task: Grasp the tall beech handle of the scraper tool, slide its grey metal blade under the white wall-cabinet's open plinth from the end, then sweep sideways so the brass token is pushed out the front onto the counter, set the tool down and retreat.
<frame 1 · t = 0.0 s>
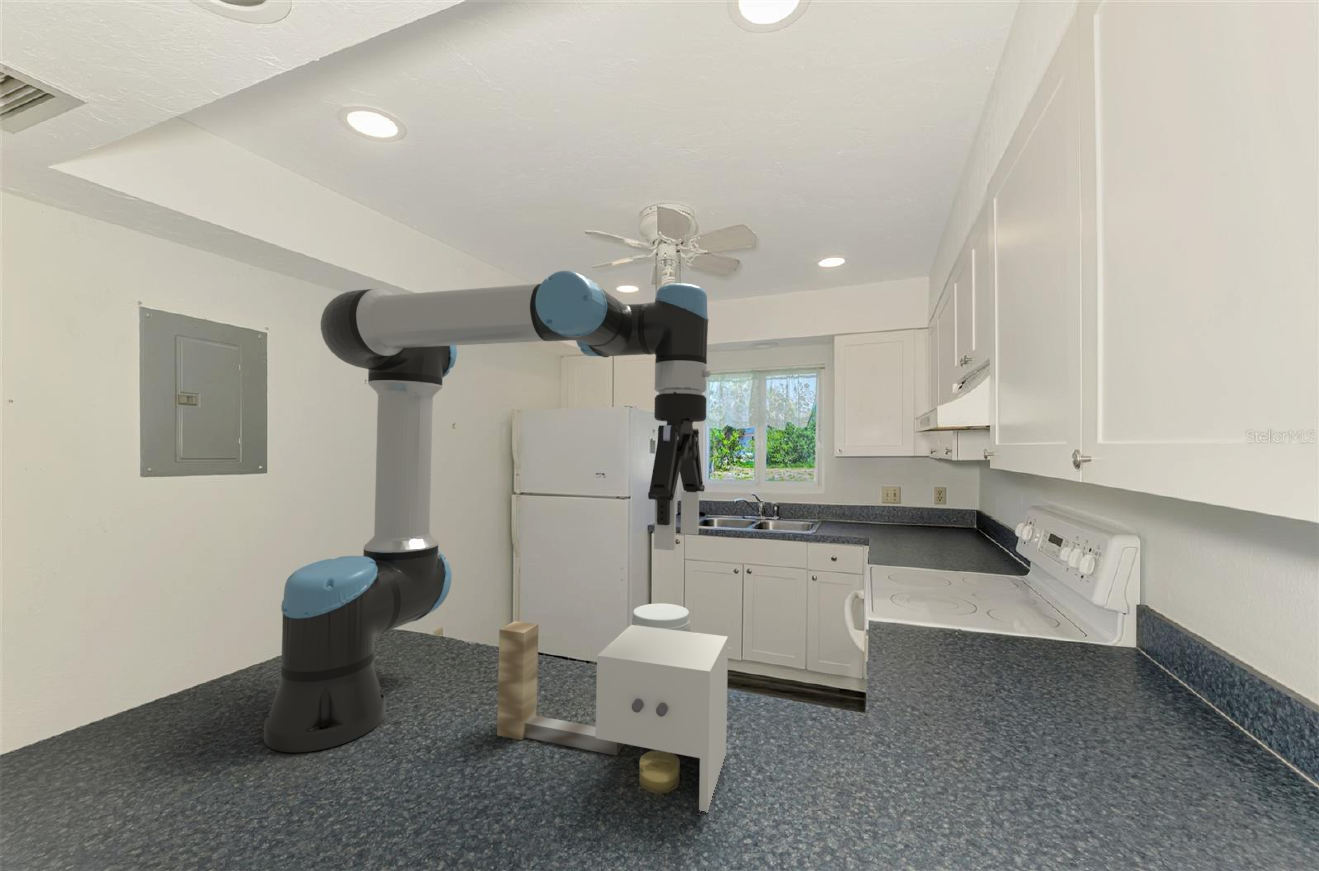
hand: (678, 541, 78), 28 cm above the countertop, fingers open, 13 cm apart
token: (659, 781, 67), on the countertop
scraper tool: (517, 730, 79), on the countertop
cabinet: (663, 770, 69), on the countertop
supplement tub: (660, 702, 88), on the countertop
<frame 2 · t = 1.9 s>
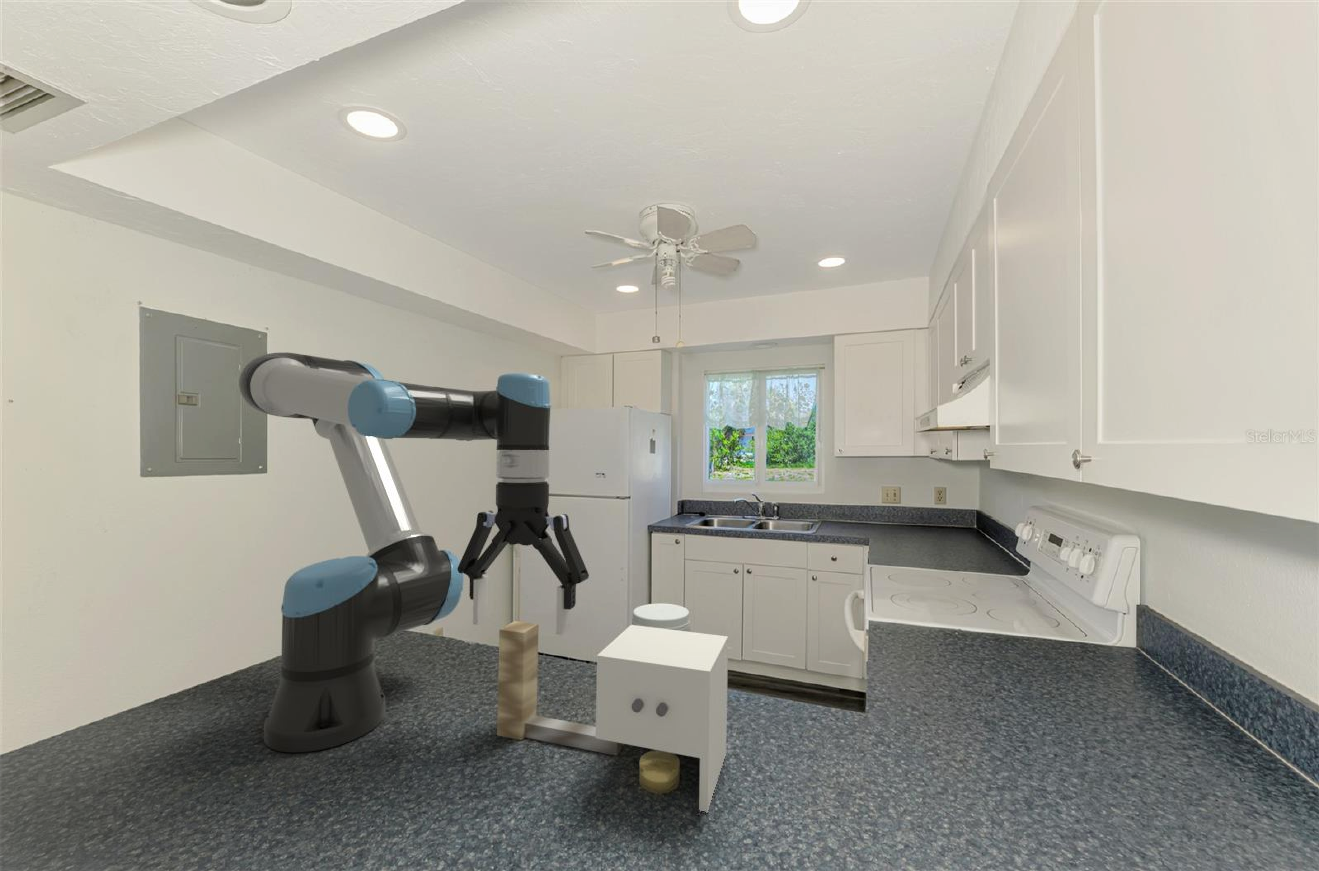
hand: (520, 626, 79), 15 cm above the countertop, fingers open, 13 cm apart
nothing on the countertop moved.
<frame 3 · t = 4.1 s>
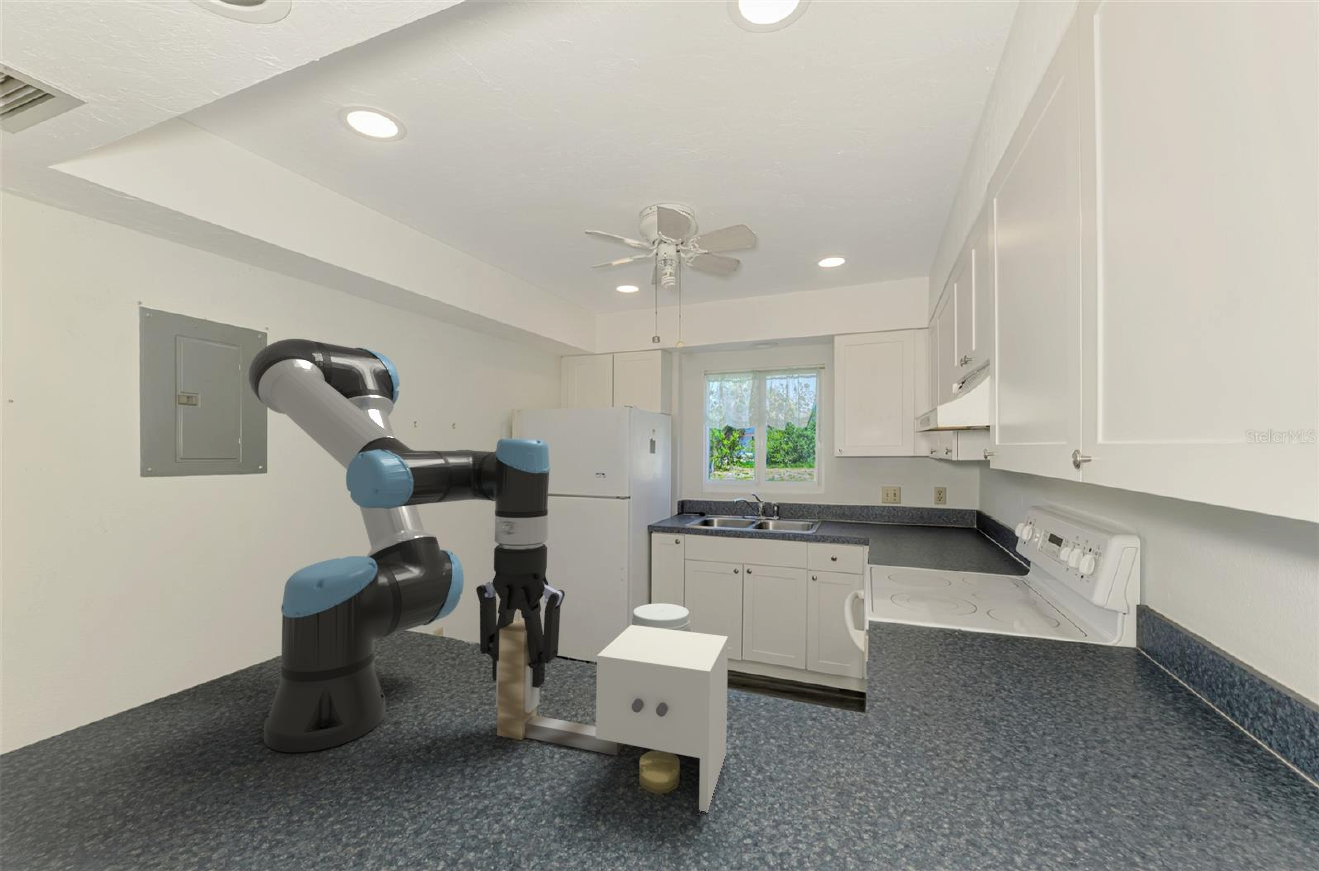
hand: (517, 705, 79), 4 cm above the countertop, fingers closed on scraper tool, 4 cm apart
scraper tool: (517, 730, 79), on the countertop, touching gripper
everything else where it was.
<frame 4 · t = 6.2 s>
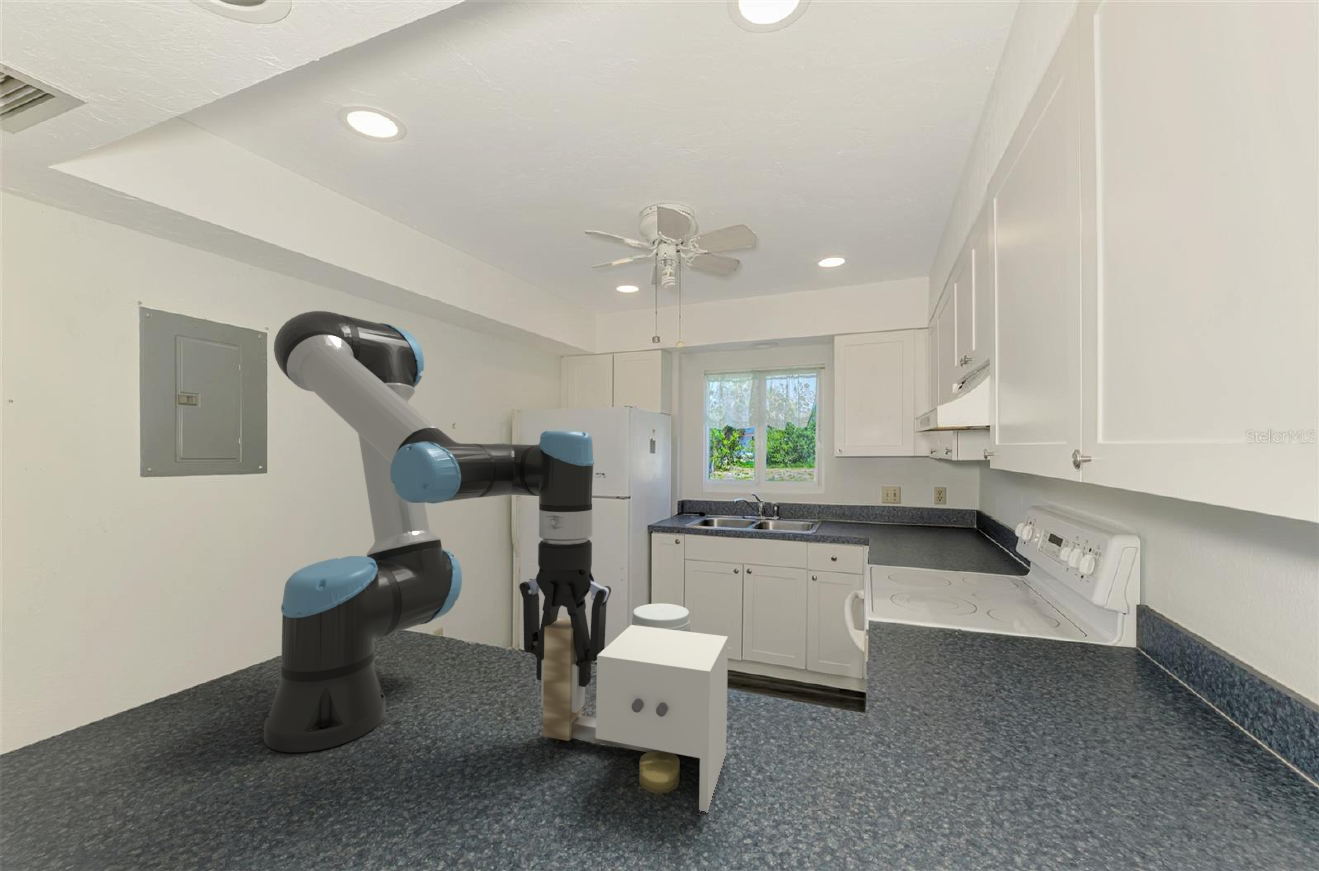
hand: (563, 704, 76), 5 cm above the countertop, fingers closed on scraper tool, 4 cm apart
scraper tool: (562, 731, 76), point 1 cm above the countertop, touching gripper
everything else where it was.
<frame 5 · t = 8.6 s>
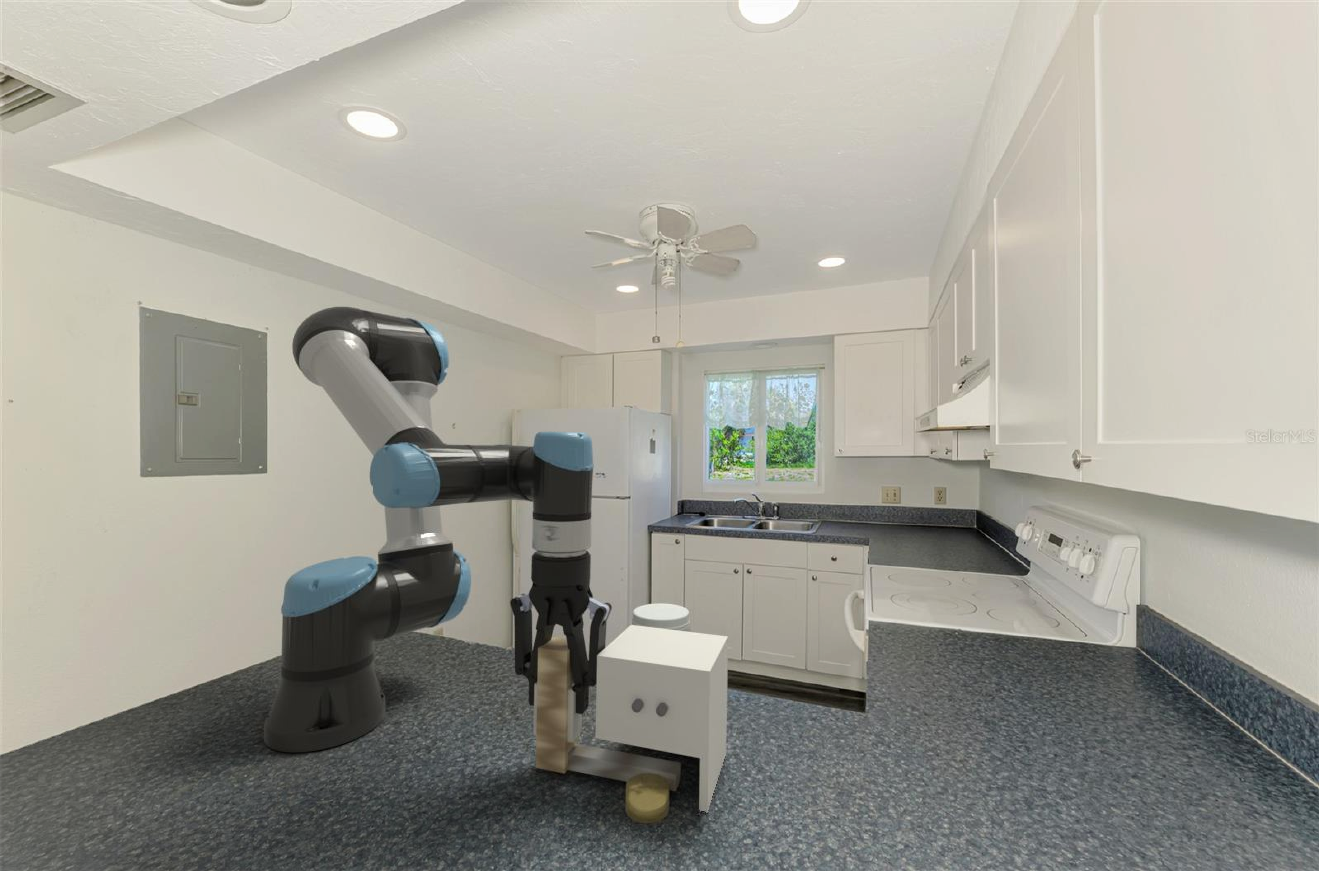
hand: (557, 732, 69), 5 cm above the countertop, fingers closed on scraper tool, 4 cm apart
token: (647, 808, 62), on the countertop
scraper tool: (557, 761, 69), point 1 cm above the countertop, touching gripper
everything else where it was.
when the fingers open (5 cm above the countertop, at t = 11.8 s): scraper tool stays where it is, on the countertop.
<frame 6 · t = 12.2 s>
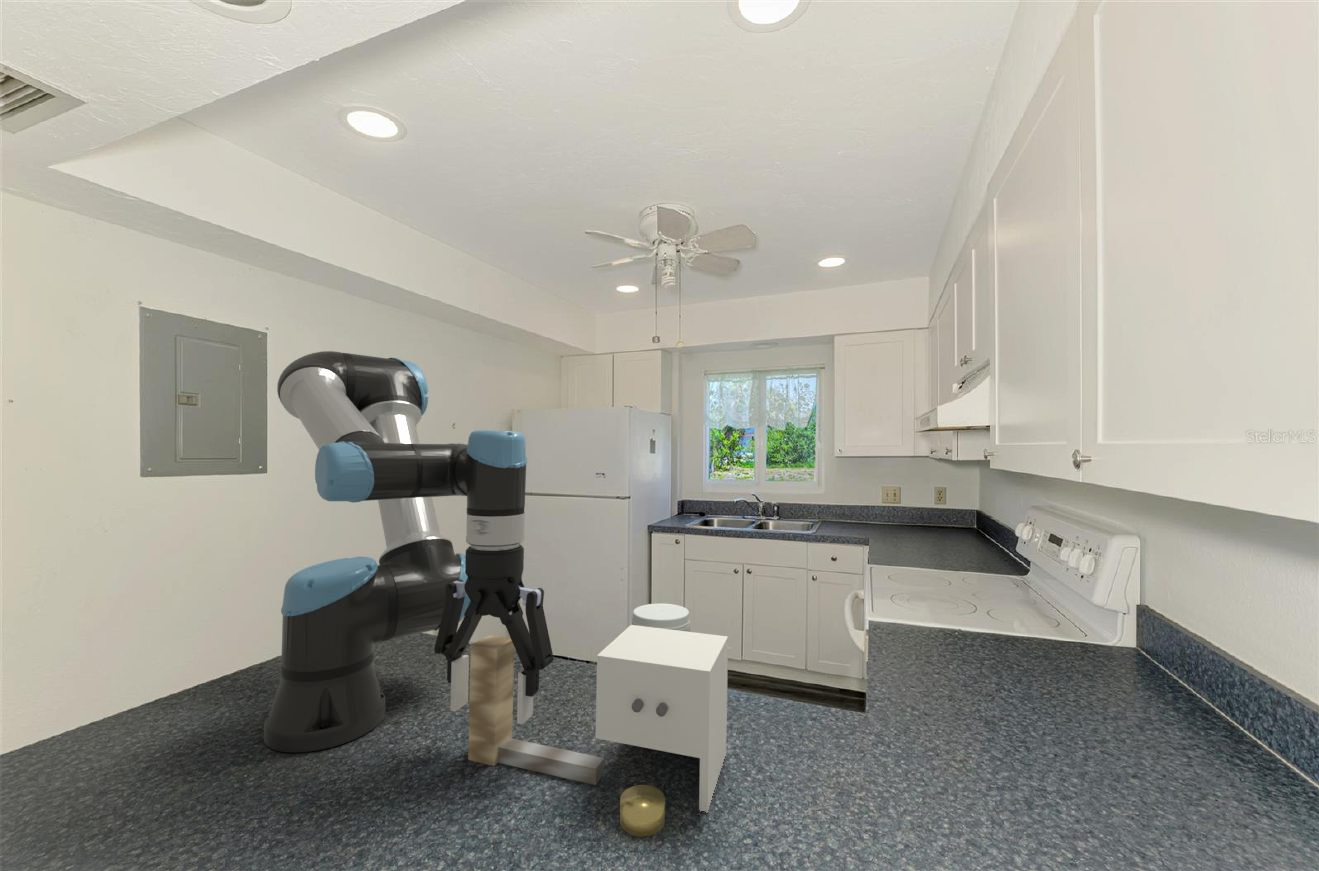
hand: (491, 712, 72), 6 cm above the countertop, fingers open, 9 cm apart
token: (642, 821, 60), on the countertop
scraper tool: (490, 754, 72), on the countertop
everything else where it was.
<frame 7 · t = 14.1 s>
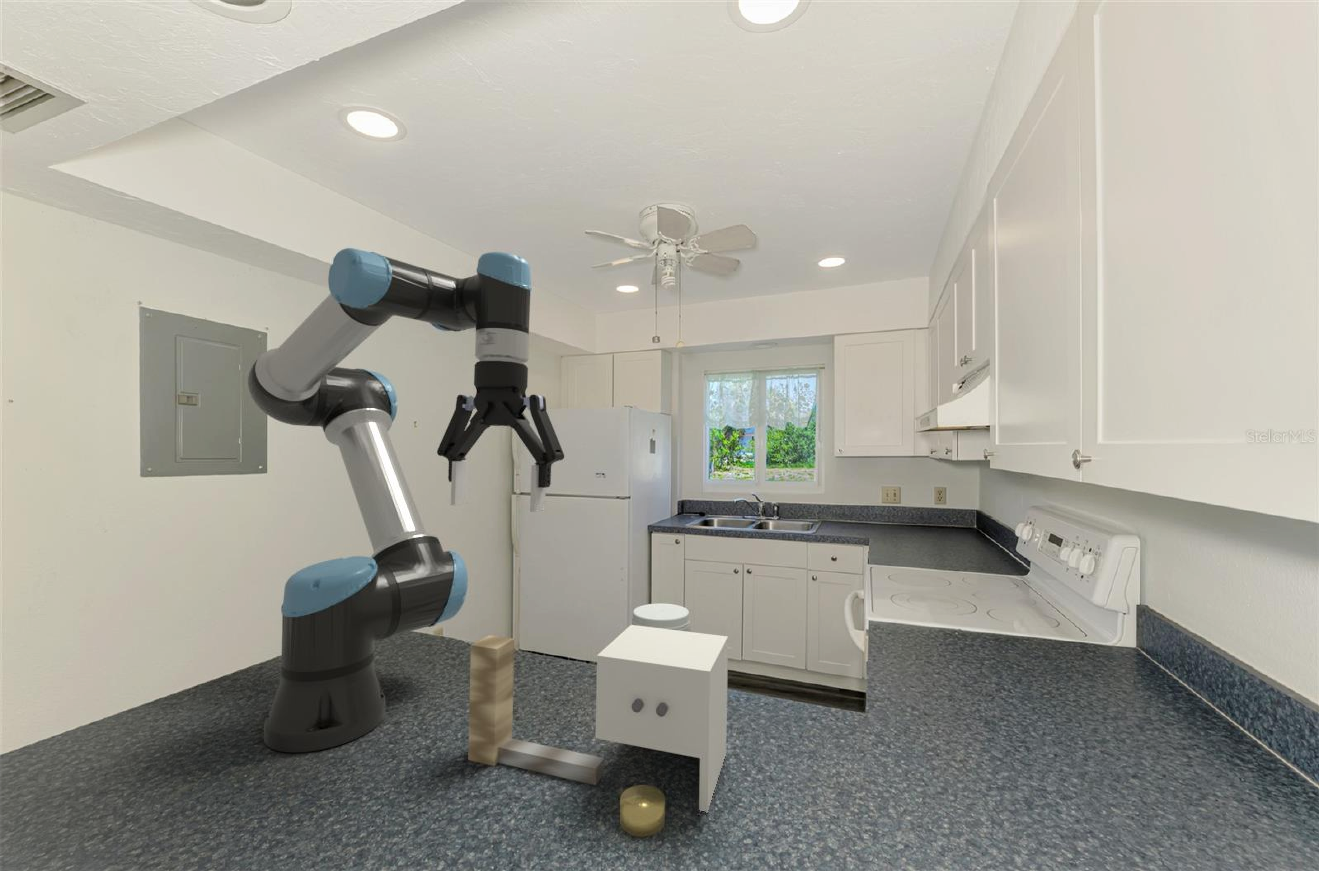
hand: (497, 507, 79), 32 cm above the countertop, fingers open, 13 cm apart
nothing on the countertop moved.
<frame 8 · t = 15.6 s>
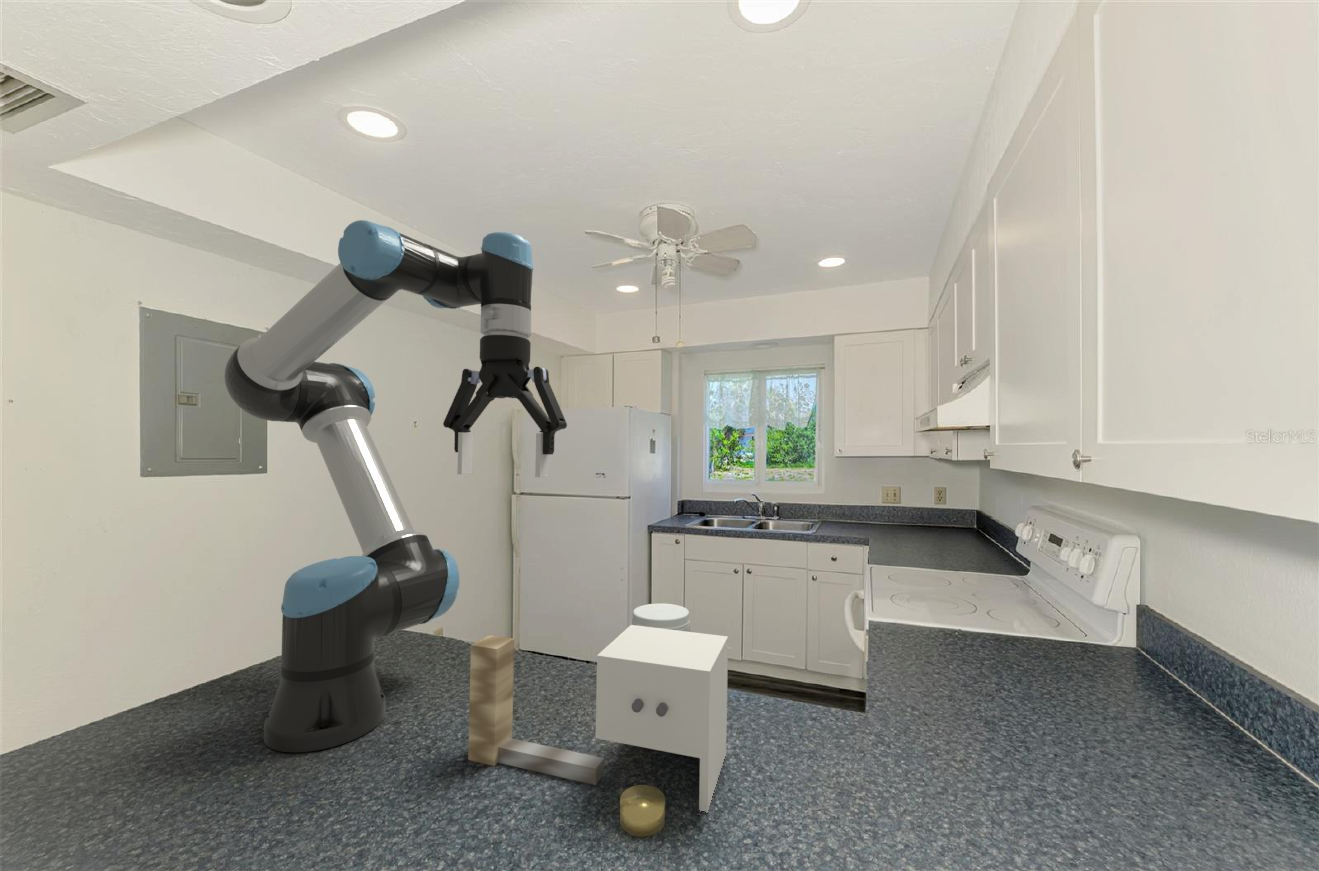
hand: (502, 475, 83), 37 cm above the countertop, fingers open, 13 cm apart
nothing on the countertop moved.
at the end: token inside the target area (3.4 cm from its centre), on the countertop; the gripper is holding nothing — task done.
